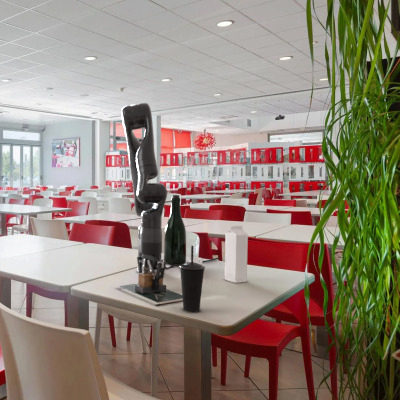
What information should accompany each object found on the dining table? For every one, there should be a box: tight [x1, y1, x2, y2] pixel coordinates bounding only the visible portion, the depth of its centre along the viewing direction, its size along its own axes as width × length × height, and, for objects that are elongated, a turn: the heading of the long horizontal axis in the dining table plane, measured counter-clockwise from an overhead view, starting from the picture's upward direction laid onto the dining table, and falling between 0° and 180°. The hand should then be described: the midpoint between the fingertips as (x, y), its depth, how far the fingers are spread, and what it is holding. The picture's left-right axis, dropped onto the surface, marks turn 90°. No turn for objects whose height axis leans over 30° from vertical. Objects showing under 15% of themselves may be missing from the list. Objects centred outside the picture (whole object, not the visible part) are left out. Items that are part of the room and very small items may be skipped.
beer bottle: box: [163, 194, 187, 266], centre depth 201 cm, size 10×10×33 cm
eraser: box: [135, 273, 167, 294], centre depth 148 cm, size 10×5×6 cm, turn 117°
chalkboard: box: [118, 283, 183, 307], centre depth 148 cm, size 14×24×1 cm, turn 27°
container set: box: [188, 256, 203, 266], centre depth 179 cm, size 20×5×6 cm, turn 155°
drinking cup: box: [178, 245, 206, 313], centre depth 129 cm, size 8×8×20 cm
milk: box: [224, 225, 249, 284], centre depth 167 cm, size 6×6×22 cm
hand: (150, 287), depth 148 cm, fingers closed on eraser, 5 cm apart
